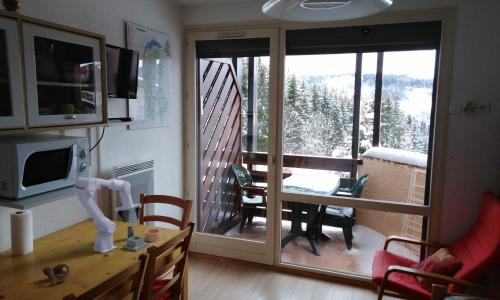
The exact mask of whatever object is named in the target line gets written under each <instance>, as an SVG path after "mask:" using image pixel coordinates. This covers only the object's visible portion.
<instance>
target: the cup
mask: <svg viewBox="0 0 500 300" xmlns="http://www.w3.org/2000/svg"><path fill="white" fill-rule="evenodd" d="M144 238H145V241H146V242H147V243H154V242H159V241H160V240H161V239H162V231H161V229H159V228H149V229H146V230H145V232H144Z"/></svg>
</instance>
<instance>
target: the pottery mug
mask: <svg viewBox="0 0 500 300" xmlns="http://www.w3.org/2000/svg"><path fill="white" fill-rule="evenodd" d="M64 268H66V270H64ZM42 273H43V274H44V275H45V277H47V278H48V279H52V281H51V283H52V284H53V285H56V284H57V283H59V282H62V281H64V280H65V279H67V278H68V277H69V276H70V275H71V271H70V267H69V266H68V265H67V264H65V263H57V264H54V265H53V266H52V267H50V266H46V267H43V269H42Z"/></svg>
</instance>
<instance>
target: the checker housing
mask: <svg viewBox="0 0 500 300" xmlns="http://www.w3.org/2000/svg"><path fill="white" fill-rule="evenodd" d="M134 239H138V240H136V241H135V240H134ZM145 241H146V240H145V236H144V237H143V236H139V235H134V236H133V237H131V238H128V237H127V238H126V243H125V244H123V245H122V249H124V250H128V251H132V252H138V251H140V250H143V249H145V248H147V247H149V246H150V242H147V241H146V242H145Z"/></svg>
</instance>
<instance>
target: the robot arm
mask: <svg viewBox="0 0 500 300" xmlns="http://www.w3.org/2000/svg"><path fill="white" fill-rule="evenodd" d="M99 186H104V187H107V188H108V189H109V190H115V191H118V193H119V197H120V200H121V201H120V202H121V204H122V206H119V207H115V209H114V210H115V213H117V215H118V216H119V217H120V218H121V219H122V220H123V222H124V223H126V220H127V219H126V216H125V211H128V210H134V212H135V214H136V219H137V220H139V219H140V217H139V215H140V209H141V208H142V203H133V198H132V193H131V187H132V185H131V183H130V182H129V181H128V180H123V179H121V178H119V179H117V178H116V177H112V178H109V179H104V178H98V177H97V178H96V177H81V176H80V177H78V178H77V179H76V180H75V183H74V189H75V190H76V194H77V198H78V202H80V204H81V205H82V207H83V208H84V209H85V210H86V212H87V213H88V214H89V215H90V217H91V218H92V219H93V221H94V223H93V224H94V227H95V230H96V231H97V233H98V235H97V236H95V237H94V242H93V243H94V246H93V247H94V249H93V251H94V252H98V253H101V254H104V253H108V252H109V251H113V250H114V249H117V248H118V247H117V246H116V245H114V233H115V231H116V229H117V225H116V223H115V222H113V221H112V220H111V219H109V218H107V217H106V216H105V214H104V213H103V212H102V210H101V209H100V208H99V206H98V205H97V204H96V202H95V201H94V200H93V198H92V197H93V196H94V194H95V192H96V189H97V188H99Z"/></svg>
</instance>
